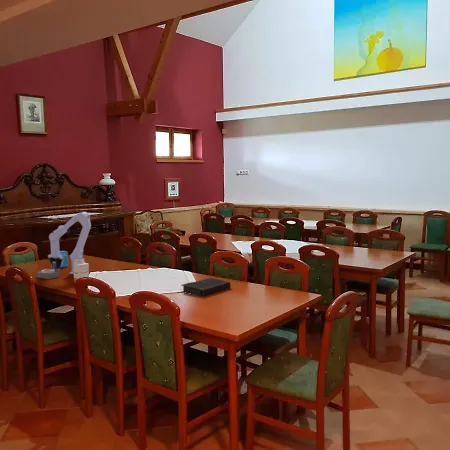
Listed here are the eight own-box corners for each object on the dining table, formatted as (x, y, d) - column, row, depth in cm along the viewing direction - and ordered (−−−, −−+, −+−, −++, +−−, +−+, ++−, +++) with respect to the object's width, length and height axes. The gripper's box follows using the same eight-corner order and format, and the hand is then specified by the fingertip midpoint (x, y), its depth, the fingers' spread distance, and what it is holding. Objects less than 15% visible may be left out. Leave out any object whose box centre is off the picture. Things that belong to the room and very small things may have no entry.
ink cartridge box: (78, 283, 305) (77, 260, 303) (73, 282, 308) (72, 259, 306) (89, 280, 311) (88, 258, 310) (85, 279, 314) (84, 258, 313)
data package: (54, 268, 353) (53, 253, 352) (51, 268, 356) (50, 252, 355) (68, 266, 362) (67, 251, 361) (65, 265, 365) (64, 250, 364)
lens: (61, 270, 337) (60, 261, 336) (55, 271, 333) (55, 262, 332) (57, 270, 339) (56, 260, 339) (51, 271, 336) (51, 261, 335)
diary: (231, 289, 285) (231, 281, 284) (204, 298, 266) (204, 289, 265) (207, 284, 297) (207, 277, 296) (180, 292, 277) (180, 284, 276)
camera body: (59, 276, 324) (59, 269, 324) (48, 279, 317) (47, 272, 316) (48, 275, 331) (48, 268, 331) (37, 277, 324) (36, 270, 323)
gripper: (43, 249, 335) (45, 268, 337) (56, 250, 327) (58, 270, 329) (52, 248, 341) (53, 266, 343) (65, 249, 333) (66, 268, 335)
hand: (56, 268), depth 336 cm, fingers closed on lens, 4 cm apart
